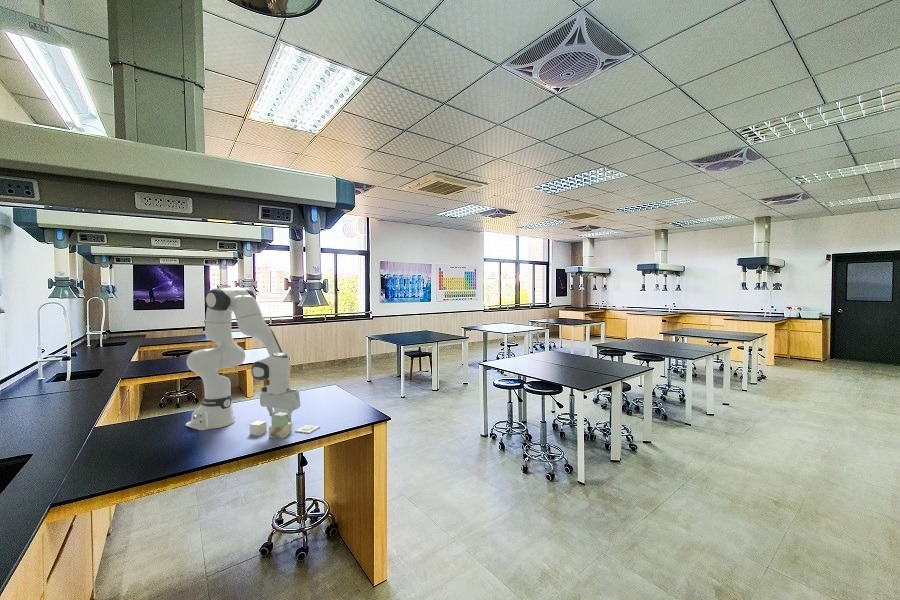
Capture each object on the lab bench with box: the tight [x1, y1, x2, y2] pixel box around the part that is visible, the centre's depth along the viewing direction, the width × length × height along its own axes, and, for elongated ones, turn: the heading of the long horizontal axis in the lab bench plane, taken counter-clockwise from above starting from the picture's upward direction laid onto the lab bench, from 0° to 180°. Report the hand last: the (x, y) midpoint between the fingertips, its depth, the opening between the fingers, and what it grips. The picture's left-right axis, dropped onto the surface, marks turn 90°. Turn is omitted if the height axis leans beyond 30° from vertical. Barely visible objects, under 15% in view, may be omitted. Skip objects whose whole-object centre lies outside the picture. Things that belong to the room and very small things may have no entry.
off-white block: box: [249, 420, 268, 436], centre depth 171 cm, size 5×5×5 cm
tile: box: [294, 424, 321, 434], centre depth 175 cm, size 8×8×1 cm
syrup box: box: [273, 408, 292, 422], centre depth 185 cm, size 6×6×14 cm
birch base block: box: [268, 421, 292, 439], centre depth 169 cm, size 7×7×5 cm
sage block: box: [270, 412, 288, 428], centre depth 168 cm, size 5×5×5 cm
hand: (280, 417), depth 169 cm, fingers open, 8 cm apart
